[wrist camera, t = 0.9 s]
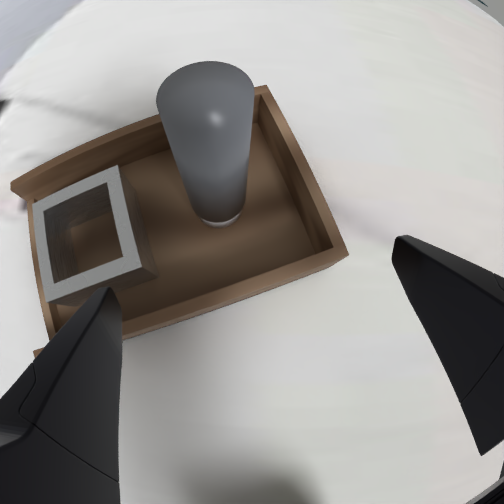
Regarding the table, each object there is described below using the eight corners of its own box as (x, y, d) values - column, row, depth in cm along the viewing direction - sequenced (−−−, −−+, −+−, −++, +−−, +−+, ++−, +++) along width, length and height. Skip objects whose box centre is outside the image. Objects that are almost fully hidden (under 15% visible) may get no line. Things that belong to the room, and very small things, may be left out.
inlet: (159, 277, 23) (141, 266, 18) (76, 307, 22) (46, 302, 17) (135, 190, 24) (117, 164, 20) (59, 222, 23) (32, 204, 19)
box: (329, 267, 24) (349, 254, 19) (65, 357, 21) (36, 361, 17) (262, 117, 27) (266, 84, 22) (36, 200, 24) (10, 182, 20)
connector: (235, 237, 23) (234, 142, 11) (185, 221, 24) (139, 119, 11) (251, 191, 24) (266, 72, 12) (204, 176, 24) (181, 55, 12)
